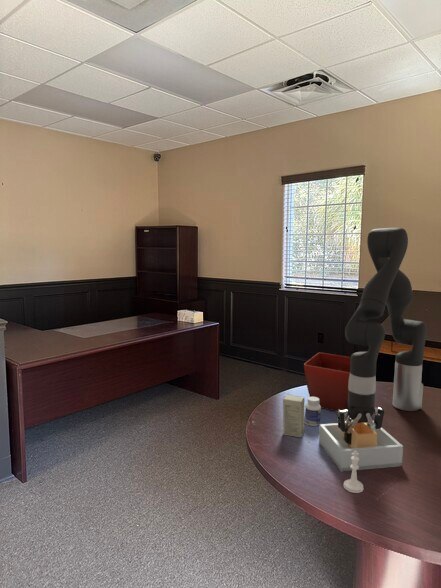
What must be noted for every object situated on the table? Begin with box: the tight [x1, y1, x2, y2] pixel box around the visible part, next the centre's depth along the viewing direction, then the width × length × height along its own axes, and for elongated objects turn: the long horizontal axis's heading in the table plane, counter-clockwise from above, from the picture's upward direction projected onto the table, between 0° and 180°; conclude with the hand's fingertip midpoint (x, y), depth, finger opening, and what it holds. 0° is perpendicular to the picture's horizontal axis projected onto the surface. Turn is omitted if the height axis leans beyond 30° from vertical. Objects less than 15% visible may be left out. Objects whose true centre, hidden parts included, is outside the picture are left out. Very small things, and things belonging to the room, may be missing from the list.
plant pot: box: [303, 352, 351, 412], centre depth 156 cm, size 19×19×17 cm
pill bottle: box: [304, 396, 322, 427], centre depth 141 cm, size 5×5×9 cm
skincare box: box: [282, 394, 305, 438], centre depth 134 cm, size 6×4×12 cm
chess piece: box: [343, 451, 364, 494], centre depth 106 cm, size 5×5×10 cm
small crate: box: [343, 420, 377, 449], centre depth 122 cm, size 6×9×6 cm, turn 9°
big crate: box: [318, 420, 404, 473], centre depth 122 cm, size 18×16×6 cm
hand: (358, 442), depth 122 cm, fingers open, 6 cm apart
